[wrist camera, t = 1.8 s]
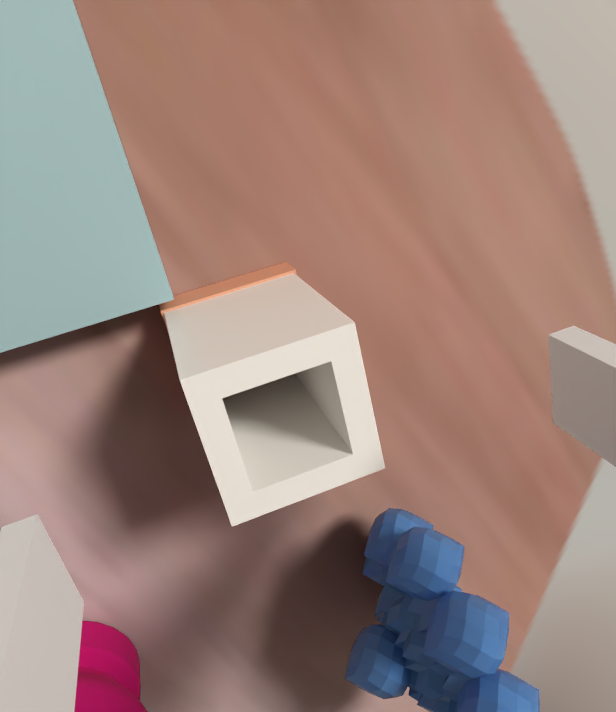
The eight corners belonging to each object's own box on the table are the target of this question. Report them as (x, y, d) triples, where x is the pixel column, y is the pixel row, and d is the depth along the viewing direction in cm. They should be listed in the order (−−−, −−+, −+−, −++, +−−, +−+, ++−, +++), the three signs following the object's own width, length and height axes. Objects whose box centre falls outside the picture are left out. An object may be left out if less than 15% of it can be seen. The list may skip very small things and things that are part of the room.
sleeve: (313, 375, 26) (388, 469, 18) (198, 415, 25) (229, 530, 17) (285, 262, 23) (357, 318, 16) (158, 300, 23) (174, 378, 15)
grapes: (271, 486, 27) (370, 721, 16) (404, 433, 28) (580, 619, 17) (331, 656, 32) (439, 925, 21) (443, 605, 33) (599, 835, 22)
